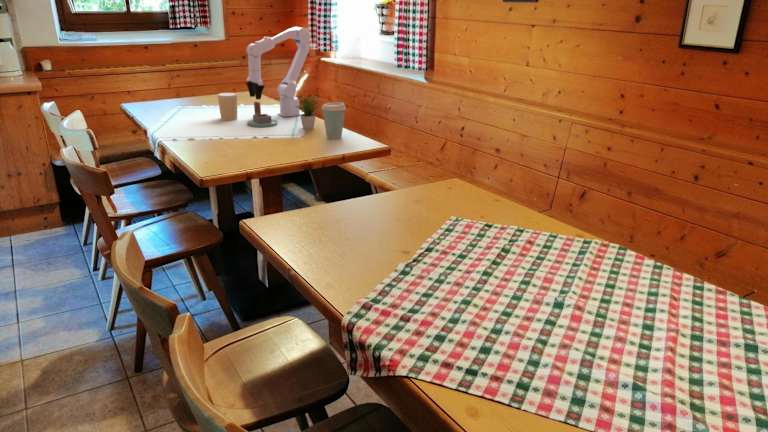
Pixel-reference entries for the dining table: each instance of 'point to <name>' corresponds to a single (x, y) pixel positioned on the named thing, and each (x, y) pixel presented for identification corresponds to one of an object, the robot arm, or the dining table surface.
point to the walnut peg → (257, 108)
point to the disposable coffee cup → (334, 119)
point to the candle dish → (262, 121)
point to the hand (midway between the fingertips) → (255, 97)
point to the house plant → (308, 112)
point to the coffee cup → (228, 106)
